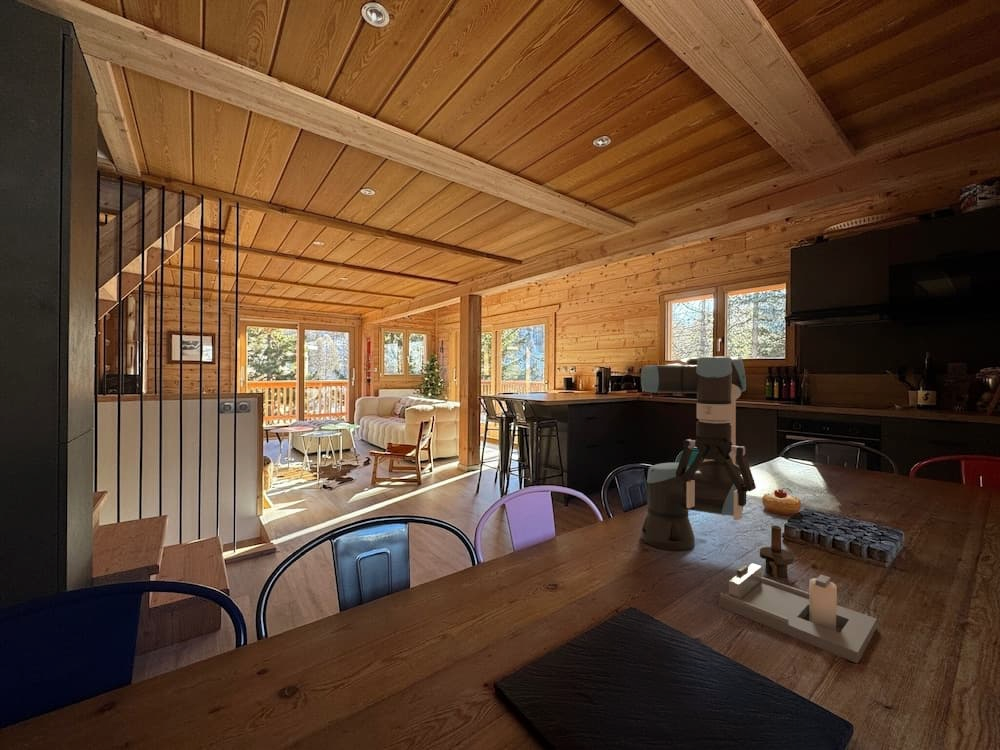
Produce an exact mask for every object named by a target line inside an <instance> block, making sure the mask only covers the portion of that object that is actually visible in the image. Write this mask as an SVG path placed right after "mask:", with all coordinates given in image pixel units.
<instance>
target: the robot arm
mask: <svg viewBox="0 0 1000 750" xmlns="http://www.w3.org/2000/svg"><path fill="white" fill-rule="evenodd" d="M746 379H747V377H746V370H745V366H744V361H743V359H742V358H740V357H739V356H729V355H726V356H691V357H689V356H688V357H684V358H679V359H675V360H671V361H669V362H668V363H666V364H651V365H650V364H649V365H648V364H647V365H644V366H643V367H642V368H641V373H640V385H641V389H642V391H644V392H645V393H653V394H654V393H660V394H661V393H665V394H666V393H671V394H672V393H677V394H678V393H679V394H680V393H681V394H696V419H698V420H697V422H696V432H695V433H696V434H695V435H696V438H695V439H693V440H692V438H689V439H685V440H683V443H682V444H683V450H682V452H681V456H680V460H679V461H678V462H662V463H657V464H654V465H651V466H649V468H648V469H647V479H646V484H647V493H646V494H647V495H646V496H647V498H646V499H647V507H646V508H647V511H646V512H647V513H646V517H645V519H644V522H643V525H642V528H641V534H640V535H641V537H642V538H641V540H642V539H643V540H644V541H645V542H646V543H645V542H644V541H643V540H642V541H643V542H644V543H645V544H647V543H648V544H647V545H649V546H651V545H652V546H651V547H654V546H655V547H654V548H657V547H658V549H661V548H662V549H661V550H666V549H668V551H685V550H687V551H688V550H690V549H692V548H694V547H695V541H696V540H695V538H696V537H695V533H694V531H693V528H692V525H691V521H690V519H689V511H695V512H701V513H708V514H715V515H722V517H723V516H732V517H733V520H734V521H739V520H740V519H742V518H743V511H744V507H745V506H746V504H747V493H748V492H751V491H754V490H755V489H756V488H757V486H756V483H755V480H754V477H753V474H752V470H751V468H750V465H749V462H748V461H749V460H748V458H747V447H746V445H745V446H744V445H742V446H740V445H736V443H737V442H736V441H737V439H736V431H737V430H736V425H737V423H736V422H737V421H736V419H737V418H736V413H737V409H736V408H737V407H736V406H737V403H736V402H737V400H738V399H739V398H740V397H741V395H742V393H743V392H745V391H746V389H747V380H746ZM695 447H696V449H697V450H698V452H697V454H696V455H695V458H694V459H693V461H692V463H691V464H690V465H689V462H690V459H691V457H692V454H693V450H694V448H695ZM736 462H737V464H736Z"/></svg>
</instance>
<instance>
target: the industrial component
mask: <svg viewBox="0 0 1000 750" xmlns="http://www.w3.org/2000/svg"><path fill="white" fill-rule="evenodd" d="M770 534H771V535H770V536H771V540H770V541H771V542H770V544H771V546H764V547H761V548H760V549H759V557H760V558H761V559H764V560H765V572H766V573H767V574H770V575H772V577H773V578H785V577H787V576H788V566H789V565H793V564H794V555H793V553H791V552H790V551H787V550H786V549H783V548H782V527H781V526H779V525H775V524H773V525H771V531H770Z"/></svg>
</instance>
